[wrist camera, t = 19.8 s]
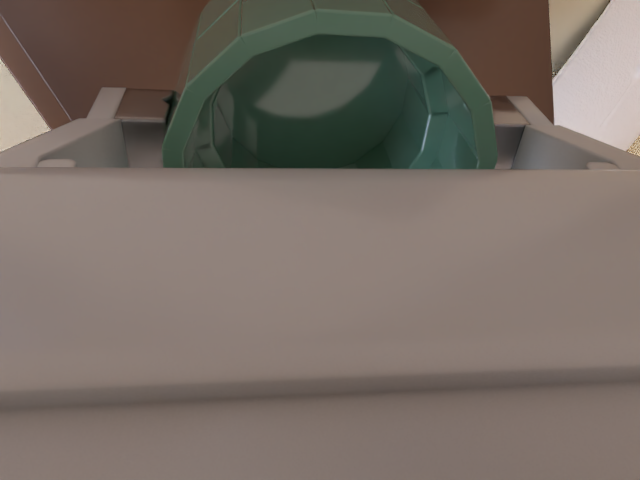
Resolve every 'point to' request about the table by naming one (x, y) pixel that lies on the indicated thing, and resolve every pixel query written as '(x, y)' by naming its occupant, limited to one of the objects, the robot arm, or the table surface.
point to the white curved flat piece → (603, 79)
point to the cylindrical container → (326, 90)
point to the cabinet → (187, 3)
